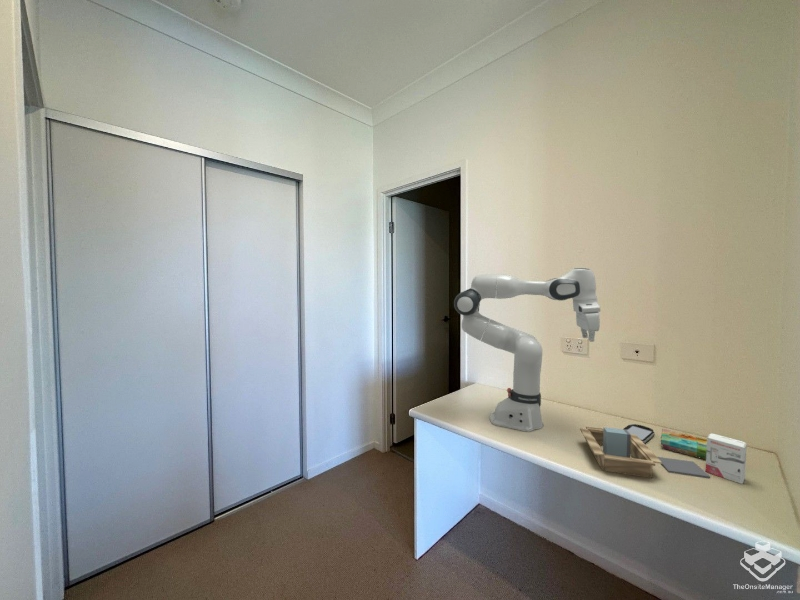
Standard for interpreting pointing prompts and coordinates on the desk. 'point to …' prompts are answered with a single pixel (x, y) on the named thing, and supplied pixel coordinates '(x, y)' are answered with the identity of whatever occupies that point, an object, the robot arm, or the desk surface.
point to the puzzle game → (684, 443)
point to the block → (616, 442)
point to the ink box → (726, 457)
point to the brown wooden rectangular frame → (632, 466)
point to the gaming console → (640, 431)
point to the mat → (682, 467)
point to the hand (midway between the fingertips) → (588, 339)
